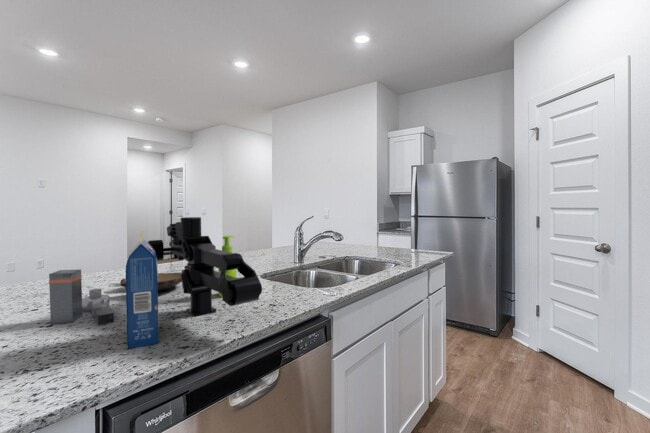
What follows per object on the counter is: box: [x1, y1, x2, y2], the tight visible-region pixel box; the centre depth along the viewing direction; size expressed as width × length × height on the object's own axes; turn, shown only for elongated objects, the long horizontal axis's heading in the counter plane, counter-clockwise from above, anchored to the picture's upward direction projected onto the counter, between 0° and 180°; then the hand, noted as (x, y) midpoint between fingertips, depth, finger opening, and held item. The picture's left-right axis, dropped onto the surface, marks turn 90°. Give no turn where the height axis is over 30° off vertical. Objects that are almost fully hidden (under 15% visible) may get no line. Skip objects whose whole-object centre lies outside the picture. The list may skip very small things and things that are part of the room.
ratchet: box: [82, 288, 115, 326], centre depth 94 cm, size 21×7×6 cm, turn 42°
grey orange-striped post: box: [48, 268, 83, 325], centre depth 88 cm, size 5×5×13 cm
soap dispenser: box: [217, 235, 237, 298], centre depth 113 cm, size 6×7×20 cm
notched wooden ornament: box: [119, 272, 182, 291], centre depth 122 cm, size 22×30×8 cm
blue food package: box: [125, 227, 160, 349], centre depth 77 cm, size 6×12×25 cm, turn 27°
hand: (171, 245), depth 114 cm, fingers open, 9 cm apart
